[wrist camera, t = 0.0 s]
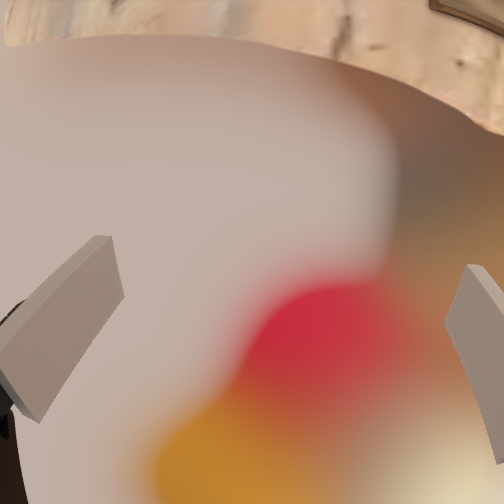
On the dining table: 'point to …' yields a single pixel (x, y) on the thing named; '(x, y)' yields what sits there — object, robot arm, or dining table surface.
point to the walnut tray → (475, 12)
